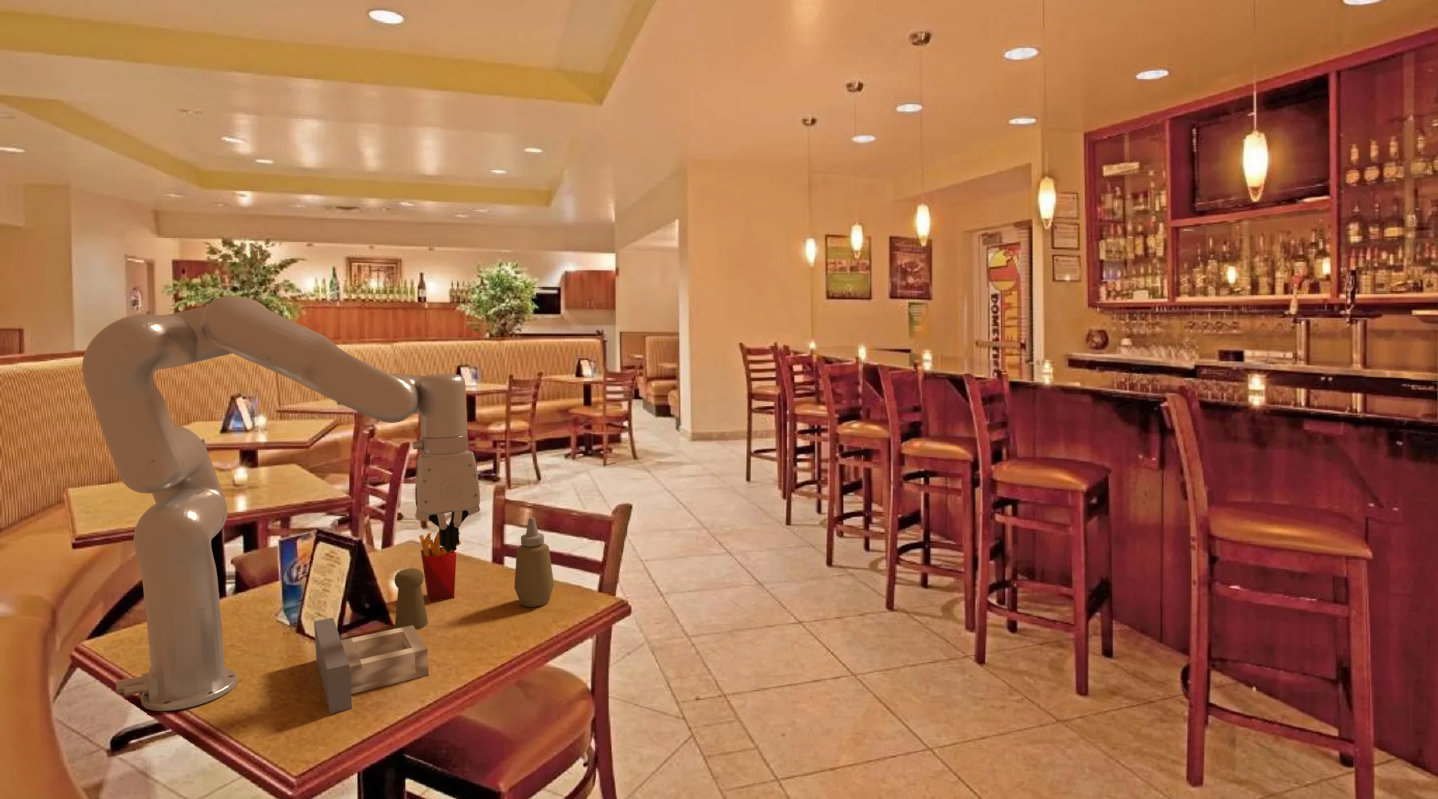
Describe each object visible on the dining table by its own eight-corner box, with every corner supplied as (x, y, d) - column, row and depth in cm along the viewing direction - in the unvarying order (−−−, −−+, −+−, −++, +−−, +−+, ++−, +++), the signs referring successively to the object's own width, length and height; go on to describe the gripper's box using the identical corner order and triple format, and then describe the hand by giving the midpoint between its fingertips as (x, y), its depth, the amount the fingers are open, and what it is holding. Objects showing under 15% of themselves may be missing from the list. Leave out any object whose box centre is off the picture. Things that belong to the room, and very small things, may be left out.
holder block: (349, 694, 120) (347, 667, 120) (340, 666, 130) (338, 640, 130) (428, 675, 126) (427, 649, 126) (414, 649, 136) (412, 625, 136)
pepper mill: (416, 632, 144) (413, 576, 143) (387, 630, 145) (384, 574, 144) (434, 620, 150) (431, 566, 149) (406, 618, 151) (404, 564, 150)
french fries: (421, 594, 164) (418, 526, 163) (461, 587, 168) (458, 521, 167) (427, 607, 157) (423, 536, 155) (468, 600, 160) (465, 531, 159)
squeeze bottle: (537, 593, 164) (533, 511, 162) (562, 600, 160) (559, 517, 158) (506, 604, 158) (503, 520, 156) (532, 612, 153) (529, 525, 151)
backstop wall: (330, 713, 114) (327, 669, 113) (316, 659, 133) (313, 621, 132) (352, 708, 116) (349, 664, 115) (335, 655, 134) (333, 617, 133)
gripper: (402, 453, 124) (408, 562, 126) (494, 444, 132) (498, 547, 134) (394, 446, 130) (400, 551, 132) (482, 439, 138) (486, 537, 140)
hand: (449, 549), depth 133 cm, fingers closed
